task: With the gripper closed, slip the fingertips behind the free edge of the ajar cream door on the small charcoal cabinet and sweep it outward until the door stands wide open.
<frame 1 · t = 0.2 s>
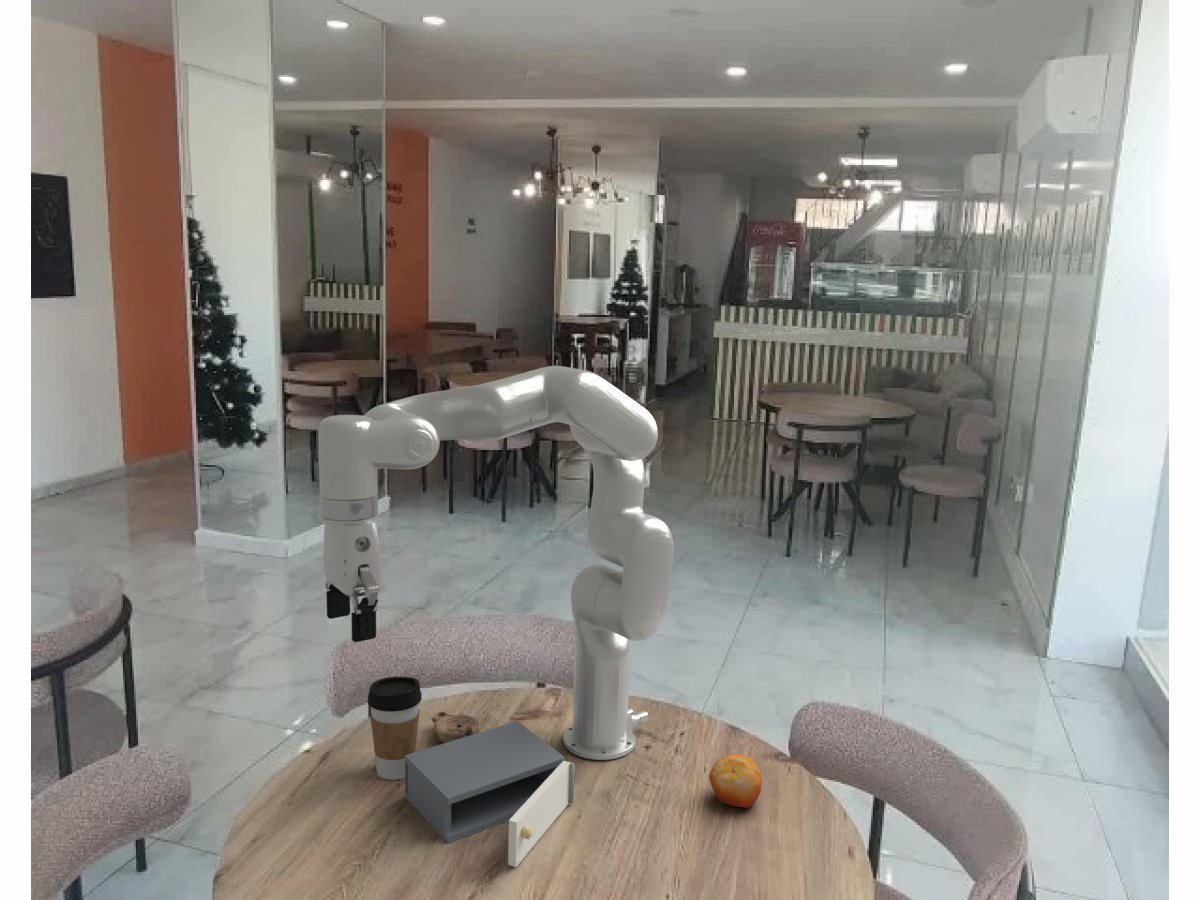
hand: (350, 627, 124), 31 cm above the table, tool pointing down, fingers open, 9 cm apart
coffee cup: (395, 771, 146), on the table
fruit: (734, 801, 141), on the table
oil lamp: (458, 742, 156), on the table
door: (544, 811, 130), point 4 cm above the table, hinge at 30.0°
cabinet: (485, 798, 139), on the table
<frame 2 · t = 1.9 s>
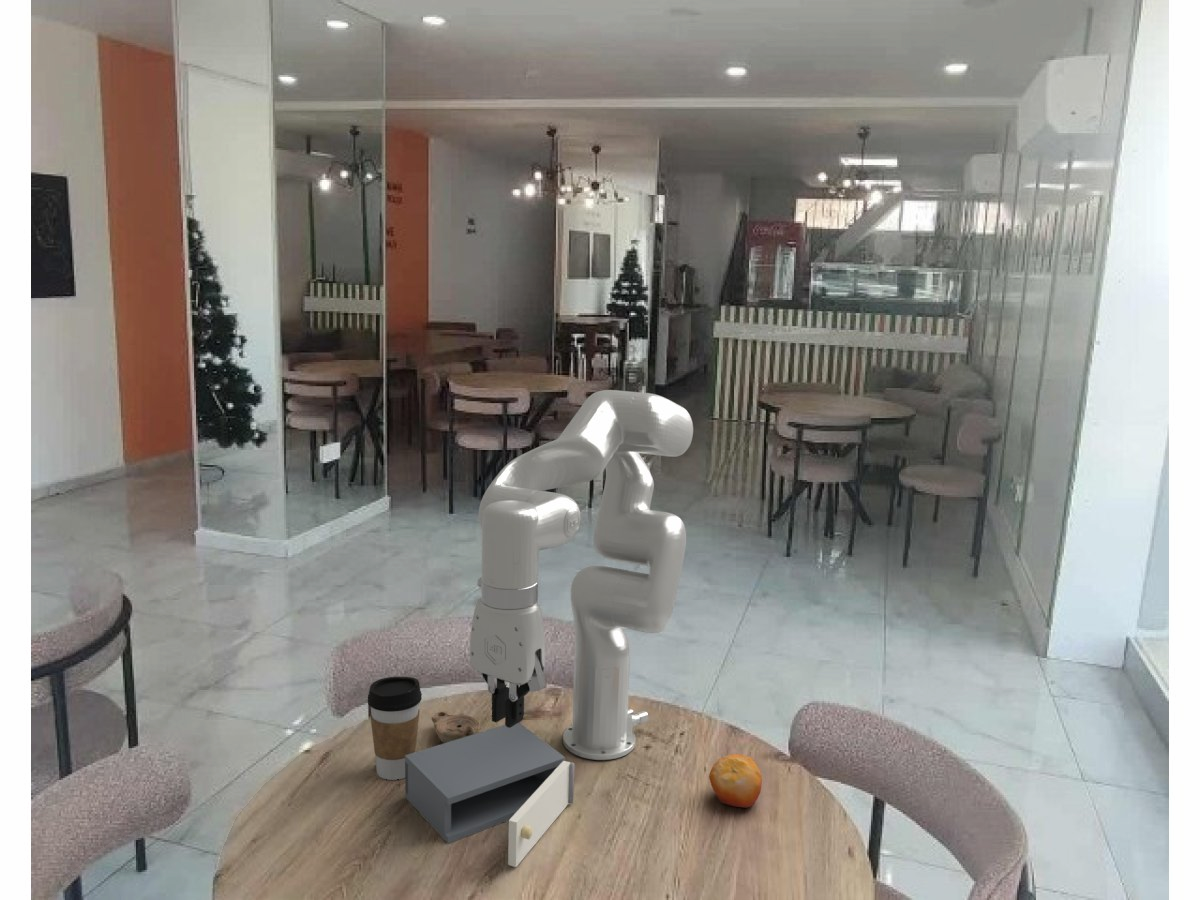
hand: (507, 720, 124), 19 cm above the table, tool pointing down, fingers closed
nothing on the table moved.
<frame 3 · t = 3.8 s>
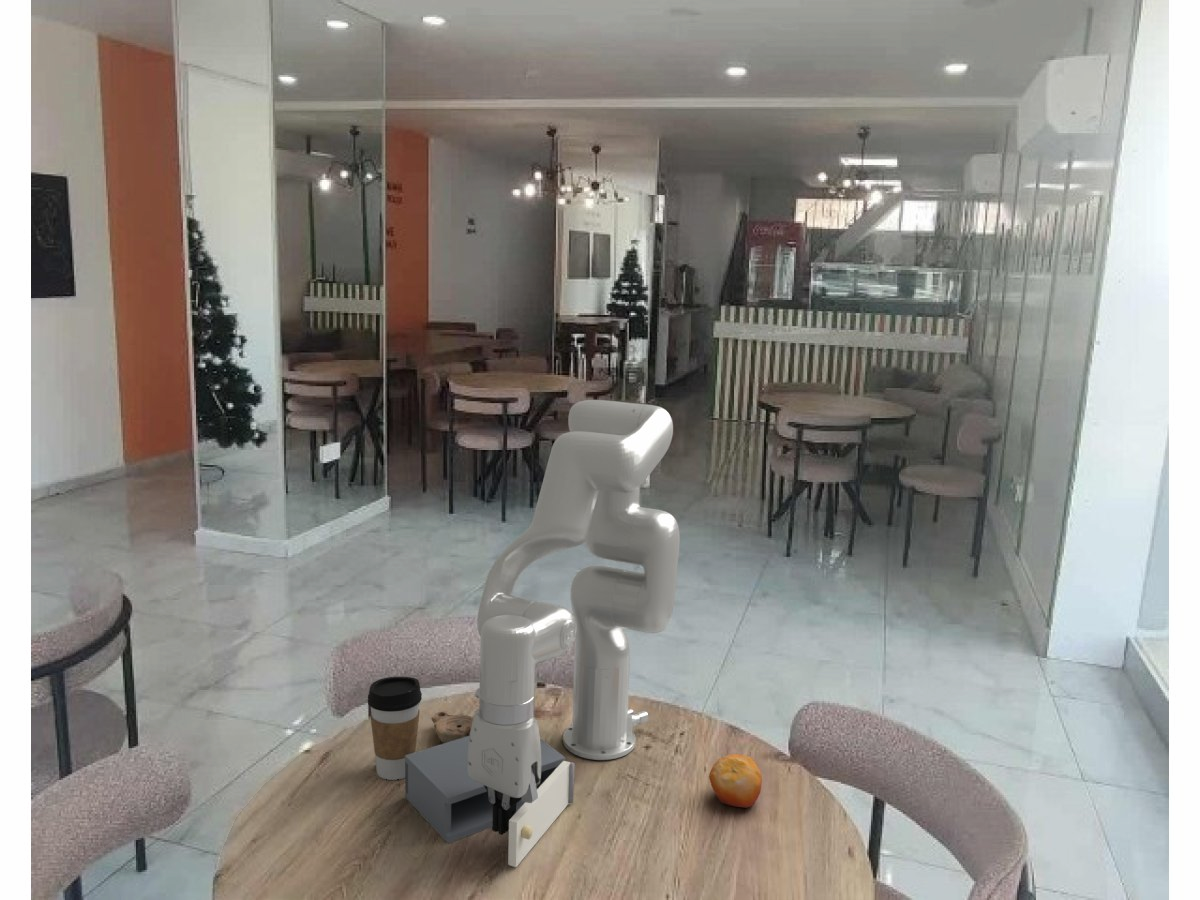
hand: (504, 828, 127), 3 cm above the table, tool pointing down, fingers closed
door: (544, 811, 130), point 4 cm above the table, hinge at 30.1°, touching gripper
everything else where it was.
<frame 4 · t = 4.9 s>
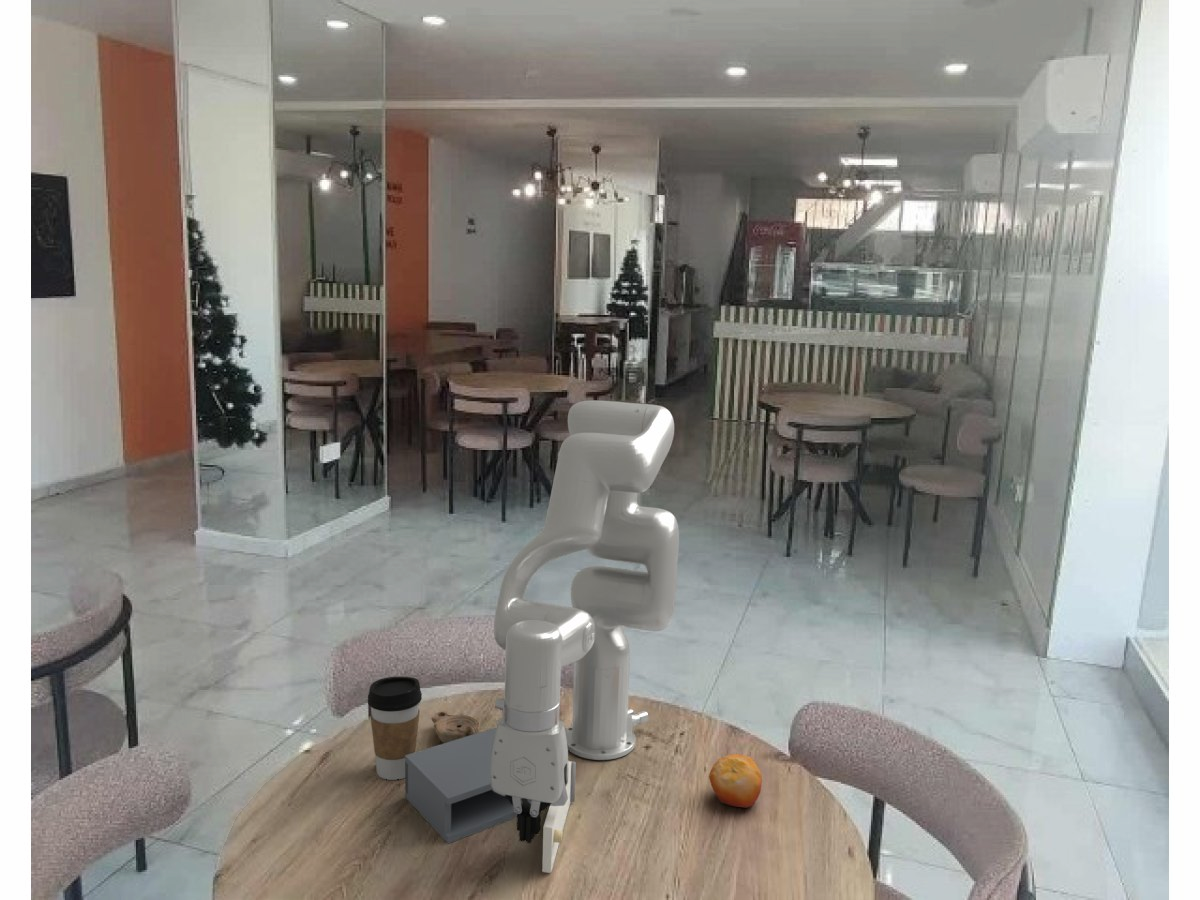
hand: (528, 836, 125), 3 cm above the table, tool pointing down, fingers closed
door: (561, 812, 129), point 4 cm above the table, hinge at 46.2°, touching gripper
everything else where it was.
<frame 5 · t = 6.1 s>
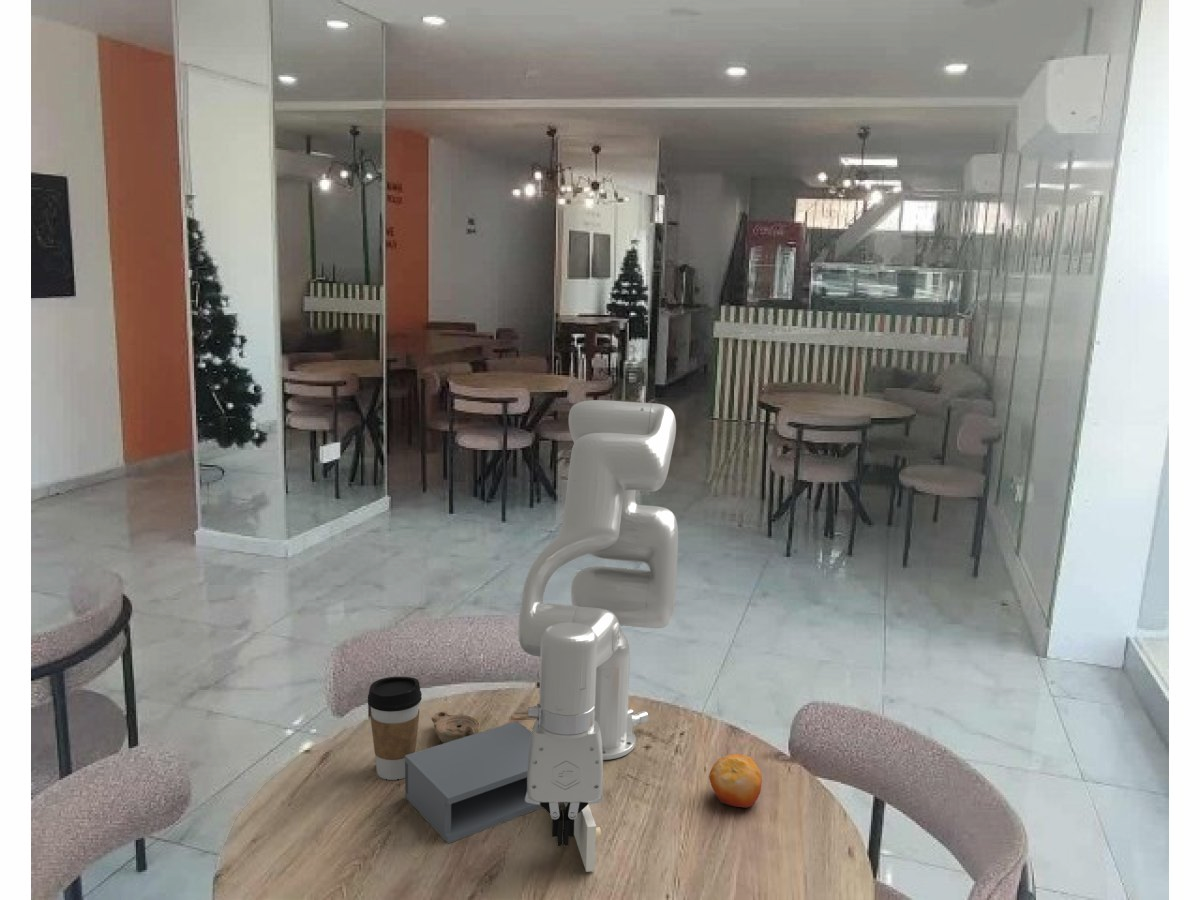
hand: (562, 840, 124), 3 cm above the table, tool pointing down, fingers closed
door: (581, 811, 130), point 4 cm above the table, hinge at 65.6°, touching gripper
everything else where it was.
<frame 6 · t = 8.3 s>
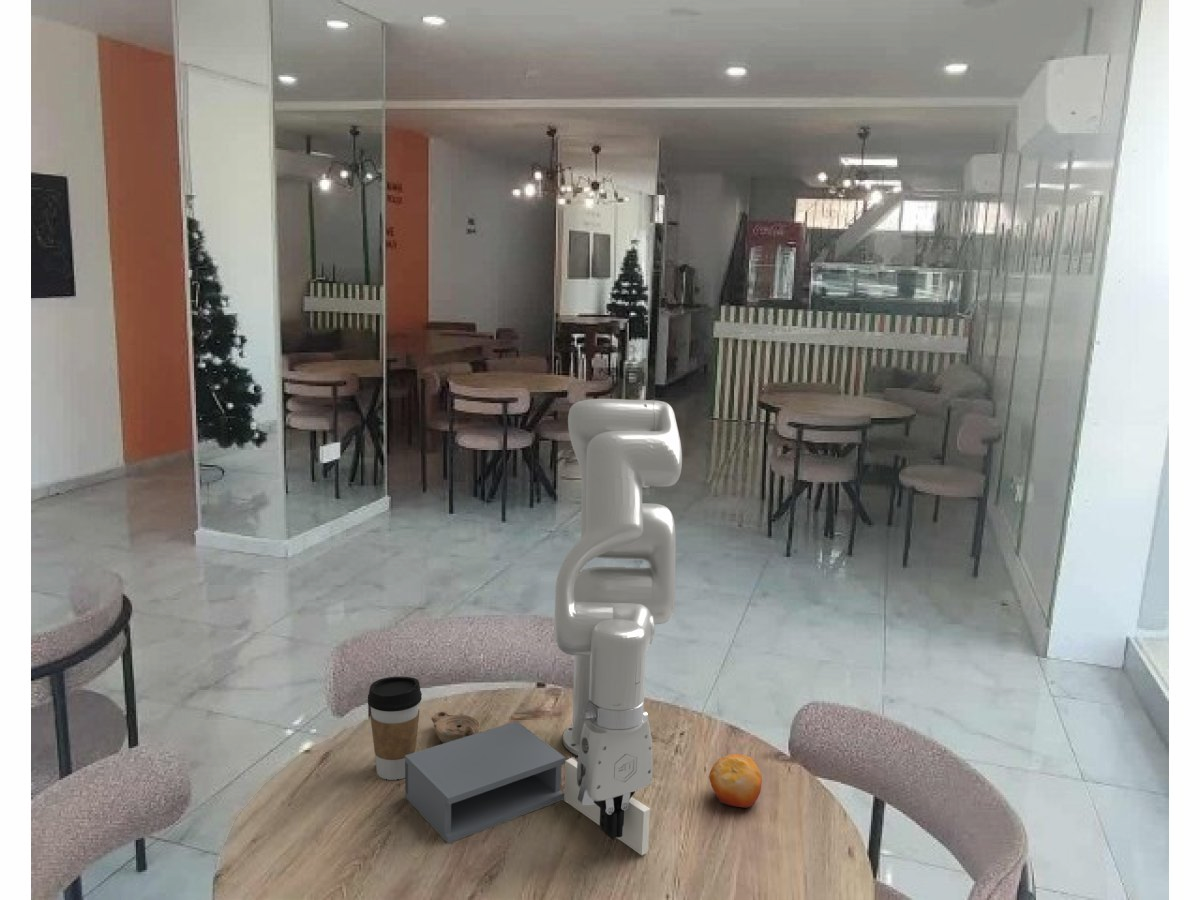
hand: (611, 833, 126), 3 cm above the table, tool pointing down, fingers closed
door: (606, 802, 132), point 4 cm above the table, hinge at 94.3°, touching gripper
everything else where it was.
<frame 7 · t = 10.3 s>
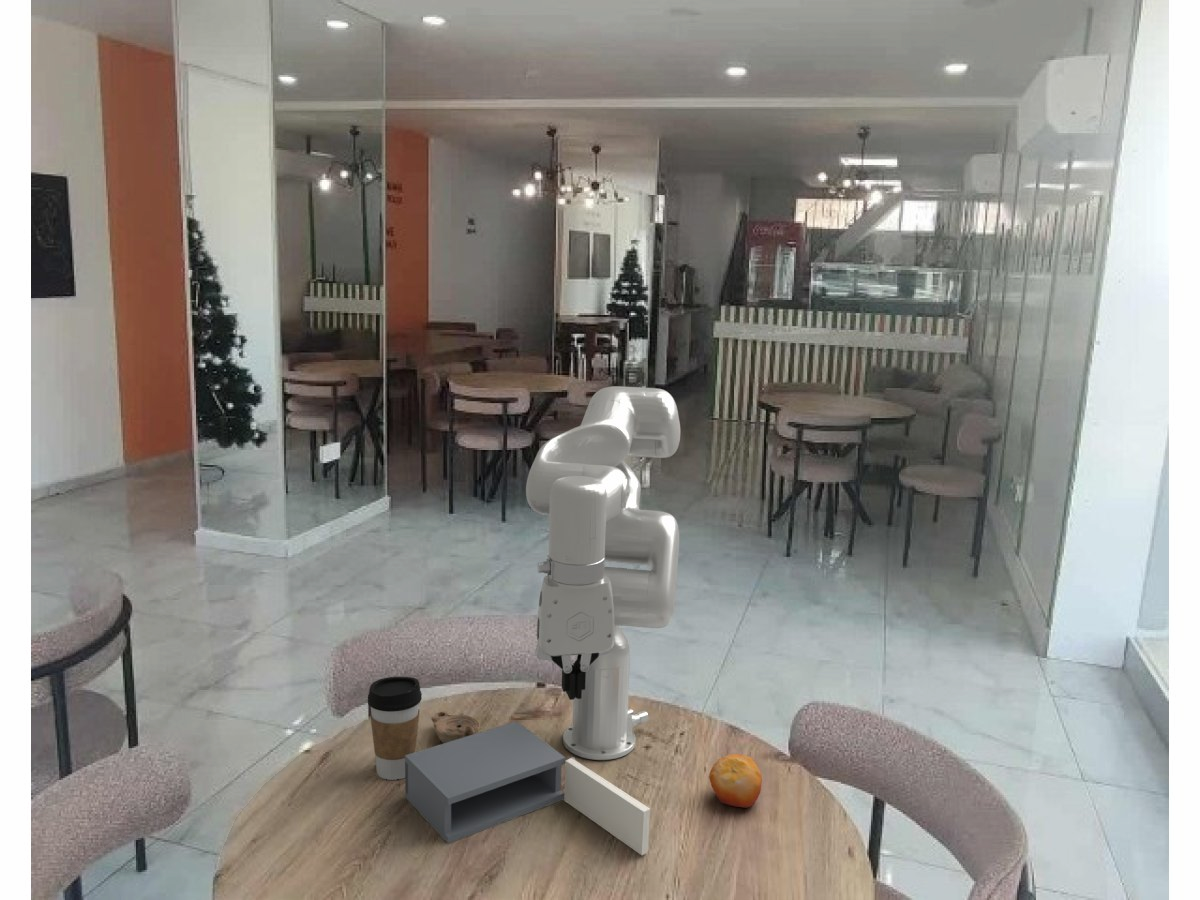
hand: (573, 694, 124), 23 cm above the table, tool pointing down, fingers closed
door: (606, 802, 132), point 4 cm above the table, hinge at 94.3°
everything else where it was.
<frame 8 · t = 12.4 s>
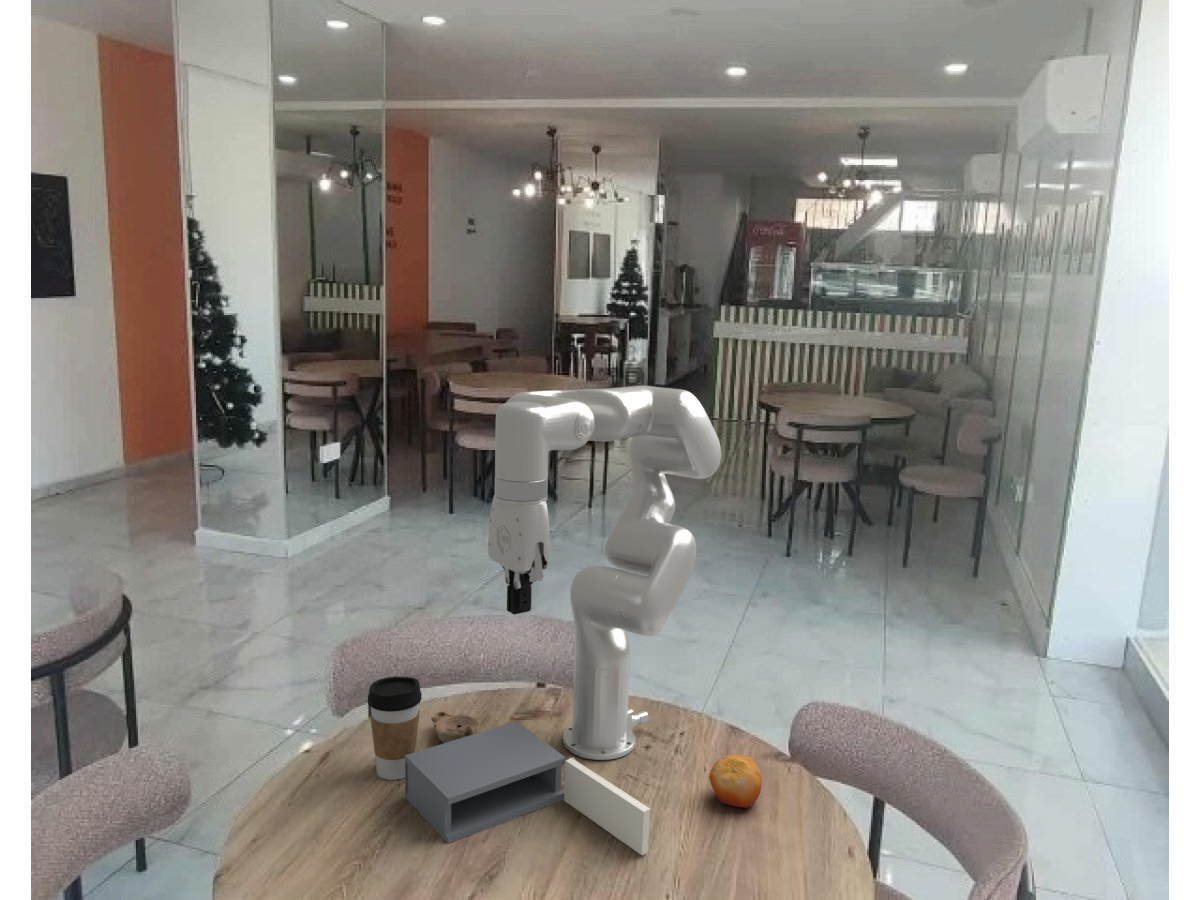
hand: (518, 610, 132), 31 cm above the table, tool pointing down, fingers closed
nothing on the table moved.
at the end: door at +94° (first picture: +30°) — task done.
